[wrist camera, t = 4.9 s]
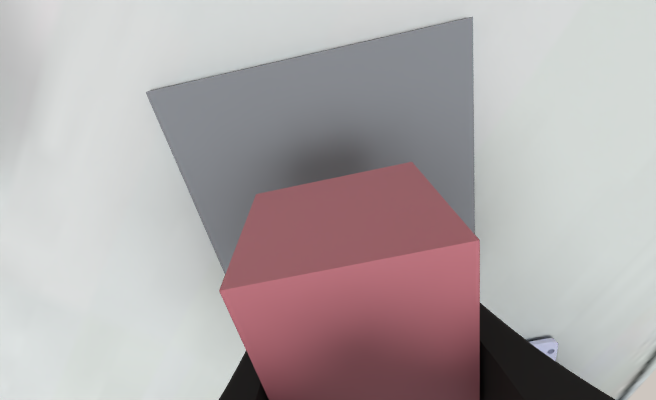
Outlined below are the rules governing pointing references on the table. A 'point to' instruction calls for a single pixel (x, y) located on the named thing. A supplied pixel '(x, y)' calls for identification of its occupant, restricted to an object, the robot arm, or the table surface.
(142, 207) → the table surface
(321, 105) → the desk mat
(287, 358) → the pink and white block
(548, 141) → the table surface
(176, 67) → the table surface
